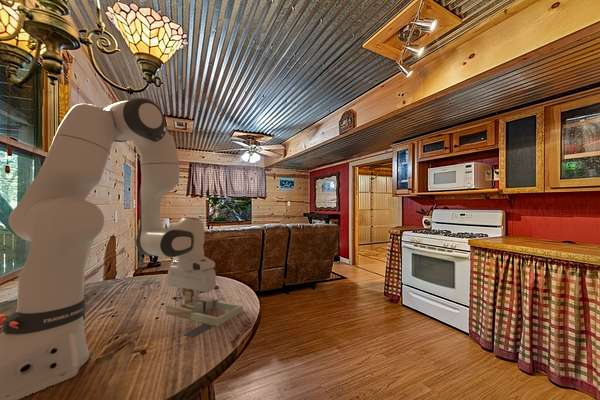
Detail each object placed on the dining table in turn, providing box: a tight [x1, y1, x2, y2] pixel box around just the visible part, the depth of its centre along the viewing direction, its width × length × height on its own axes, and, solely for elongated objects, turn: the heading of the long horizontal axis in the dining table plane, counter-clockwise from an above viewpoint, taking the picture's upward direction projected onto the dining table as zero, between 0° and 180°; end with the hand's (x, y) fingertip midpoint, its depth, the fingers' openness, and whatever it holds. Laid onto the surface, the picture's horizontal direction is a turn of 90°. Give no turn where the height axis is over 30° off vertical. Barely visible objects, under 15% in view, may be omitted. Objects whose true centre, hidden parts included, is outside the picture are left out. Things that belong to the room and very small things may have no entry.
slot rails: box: [165, 295, 219, 320], centre depth 92 cm, size 12×12×3 cm
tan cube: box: [186, 301, 204, 314], centre depth 88 cm, size 4×4×4 cm
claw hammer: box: [172, 285, 219, 302], centre depth 110 cm, size 21×7×1 cm, turn 141°
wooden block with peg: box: [180, 289, 195, 308], centre depth 93 cm, size 7×3×6 cm, turn 157°
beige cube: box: [197, 296, 215, 313], centre depth 93 cm, size 4×4×4 cm
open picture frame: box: [190, 300, 244, 327], centre depth 87 cm, size 13×11×2 cm
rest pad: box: [183, 323, 214, 339], centre depth 76 cm, size 8×4×1 cm, turn 156°
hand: (190, 300), depth 93 cm, fingers closed on wooden block with peg, 3 cm apart
